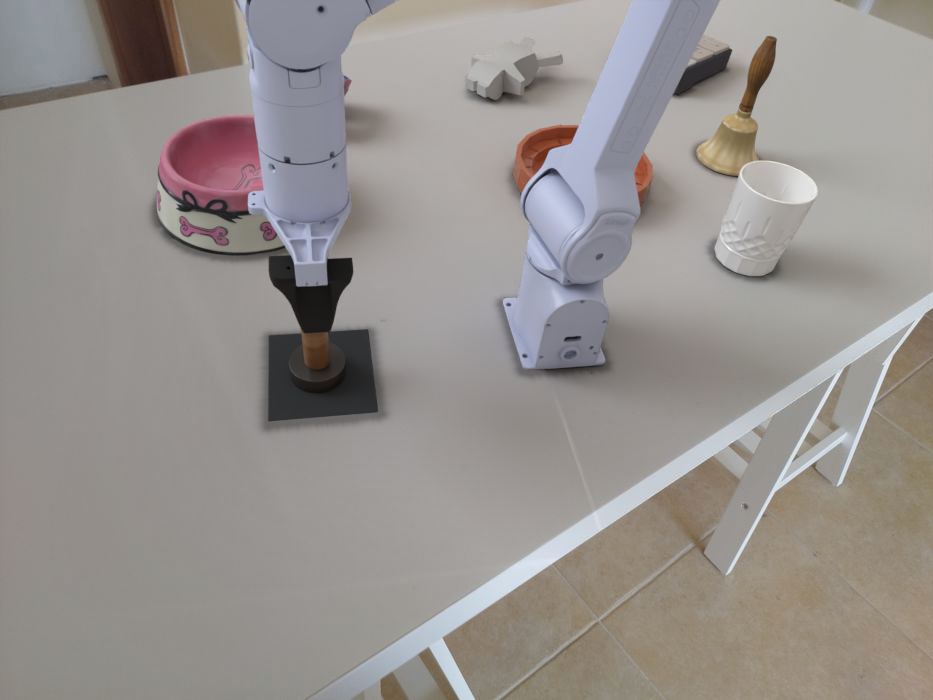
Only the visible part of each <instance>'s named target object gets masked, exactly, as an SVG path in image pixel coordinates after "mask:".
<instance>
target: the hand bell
mask: <svg viewBox="0 0 933 700" xmlns="http://www.w3.org/2000/svg"><path fill="white" fill-rule="evenodd" d="M777 41H778V38H777V37H775V36H772V35H767V36H765V38H764V40H763V41H762V43H761V44H760V46H759V47H758V48H757V49H756V51H755V53H754V54H753V56H752V59H751V62H750V63H749V67H748V72H747V81H746V88H745V91H744V93H743V96H742V99H741V100H740V103H739V105H738V110H737V112H736V113H730V114H727V115H725V116H724V118H722V120H721V123H720V124H719V126H718V128H717V130H716V132H715V133H714V134H713V135H712V137H710V138H709V139H707V140H705V141H704V142H701V144H700V145H699V146H698V147H697V148H696V150H695V155H696V159H698V161H699V162H700V163H701V164H702V165H703V166H705V167H706V168H708V169H710V170H712V171H714V172H716V173H718V174H722V175H727V176H731V177H732V176H733V177H738V176H739V173H740V170H741V168H742V167H743V166H744V165H745V164H747V163H750V162H753V161H760V158H759V155H758V153H757V152H756V147H755V145H756V140H757V139H756V138H757V133H758V130H759V124H758V123H757V121H756V120H755V119H754V118H753V117H752V114H753V110H754V106H755V105H756V100H757V97H758V95H759V92H760V90H761V88H762V87H763V86H764V84H765V83H766V81H767V80H768V78H769V77H770V74H771V72H772V70H773V67H774V65H775V61H776V56H777V55H776V54H777Z"/></svg>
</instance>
